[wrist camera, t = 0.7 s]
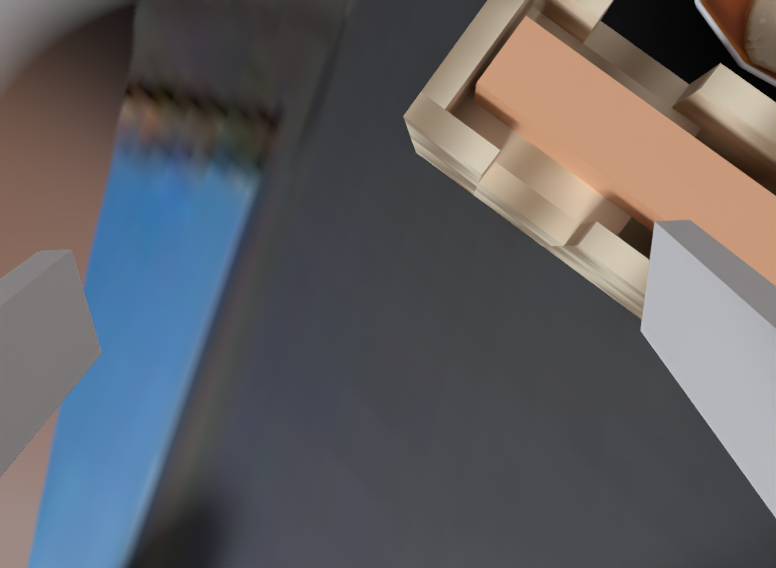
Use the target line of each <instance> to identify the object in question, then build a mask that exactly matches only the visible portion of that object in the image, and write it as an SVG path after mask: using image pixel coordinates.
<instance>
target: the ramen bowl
mask: <svg viewBox="0 0 776 568" xmlns="http://www.w3.org/2000/svg"><path fill="white" fill-rule="evenodd" d="M695 4H696V8H697V9H698V11H699V12H700V13H701V15H702V16H703V18H704V19H705V20H706V22H707V23H708V24H709V26H710V27H711V29H712V30H713V31H714V33H715V34H716V35H717V37H718V38H719V40H720V41H721V42H722V44H723V45H724V46H725V48H726V49H727V51H728V52H729V53H730V55H731V56H732V57H733V59H734V60H735V62H736V63H737V64H738V66H739V67H741V68H743V69H744V70H746V71H748V72H750V73H752V74H753V75H755V76H757V77H759V78H761V79H762V80H764V81H766V82H768V83H769V84H771V85H773V86H775V87H776V0H695Z"/></svg>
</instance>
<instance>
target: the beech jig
mask: <svg viewBox="0 0 776 568" xmlns="http://www.w3.org/2000/svg"><path fill="white" fill-rule="evenodd" d="M613 1H614V0H487V2H486V3H485V5H484V6H483V7H482V9H481V10H480V11H479V13H478V14H477V16H476V17H475V18H474V20H473V21H472V22H471V24H470V25H469V27H468V28H467V29H466V31H465V32H464V33H463V35H462V36H461V38H460V39H459V40H458V42H457V43H456V44H455V46H454V47H453V49H452V50H451V51H450V53H449V54H448V56H447V57H446V58H445V60H444V61H443V62H442V64H441V65H440V67H439V68H438V69H437V71H436V72H435V73H434V75H433V76H432V78H431V79H430V80H429V82H428V83H427V84H426V86H425V87H424V89H423V90H422V91H421V93H420V94H419V95H418V97H417V98H416V100H415V101H414V102H413V104H412V105H411V106H410V108H409V109H408V111H407V112H406V113H405V115H404V116H403V117H404V119H405V122H406V125H407V128H408V131H409V134H410V137H411V139H412V142H413V145H414V148H415V151H416V153H418V154H419V155H420V156H422V157H423V158H424V159H426V160H427V161H429V162H430V163H431V164H433V165H434V166H435V167H437V168H438V169H439V170H441V171H442V172H443V173H445V174H446V175H447V176H449V177H450V178H451V179H453V180H454V181H455V182H457V183H458V184H460V185H461V186H462V187H464V188H465V189H466V190H468V191H469V192H470V193H472V194H473V195H474V196H476V197H477V198H478V199H480V200H481V201H482V202H484V203H485V204H487V205H488V206H489V207H491V208H492V209H493V210H495V211H496V212H497V213H499V214H500V215H501V216H503V217H504V218H505V219H507V220H508V221H509V222H511V223H512V224H513V225H515V226H516V227H518V228H519V229H520V230H522V231H523V232H524V233H526V234H527V235H528V236H530V237H531V238H532V239H534V240H535V241H536V242H538V243H539V244H540V245H542V246H543V247H544V248H546V249H547V250H549V251H550V252H551V253H553V254H554V255H555V256H557V257H558V258H559V259H561V260H562V261H563V262H565V263H566V264H567V265H569V266H570V267H571V268H573V269H574V270H576V271H577V272H578V273H580V274H581V275H582V276H584V277H585V278H586V279H588V280H589V281H590V282H592V283H593V284H594V285H596V286H597V287H598V288H600V289H601V290H602V291H604V292H605V293H607V294H608V295H609V296H611V297H612V298H613V299H615V300H616V301H617V302H619V303H620V304H621V305H623V306H624V307H625V308H627V309H628V310H629V311H631V312H632V313H633V314H635V315H636V316H638V317H639V318H640V319H642V315H643V307H644V300H645V292H646V284H647V276H648V269H649V261H650V253H651V245H652V238H653V232H652V231H650V230H649V229H648V228H646V227H645V226H644V225H642V224H641V223H639V222H638V221H637V220H635V219H634V218H633V217H631V216H630V215H629V214H627V213H626V212H624V211H623V210H622V209H620V208H619V207H618V206H616V205H615V204H614V203H612V202H611V201H609V200H608V199H607V198H605V197H604V196H603V195H601V194H600V193H599V192H597V191H596V190H594V189H593V188H592V187H590V186H589V185H588V184H586V183H585V182H584V181H582V180H581V179H579V178H578V177H577V176H575V175H574V174H573V173H571V172H570V171H569V170H567V169H566V168H564V167H563V166H562V165H560V164H559V163H558V162H556V161H555V160H554V159H552V158H551V157H549V156H548V155H547V154H545V153H544V152H543V151H541V150H540V149H539V148H537V147H536V146H534V145H533V144H532V143H530V142H529V141H528V140H526V139H525V138H524V137H522V136H521V135H519V134H518V133H517V132H515V131H514V130H513V129H511V128H510V127H509V126H507V125H506V124H504V123H503V122H502V121H500V120H499V119H498V118H496V117H495V116H494V115H492V114H491V113H489V112H488V111H487V110H485V109H484V108H483V107H481V106H480V105H479V104H477V103H476V102H474V96H475V90H476V84H477V81H478V80H479V79H480V77H481V76H482V75H483V73H484V72H485V71H486V69H487V68H488V66H489V65H490V64H491V62H492V61H493V60H494V58H495V57H496V56H497V54H498V53H499V51H500V50H501V49H502V47H503V46H504V45H505V43H506V42H507V41H508V39H509V38H510V37H511V35H512V34H513V32H514V31H515V30H516V28H517V27H518V26H519V24H520V23H521V22H522V20H523V19H524V17H525V16H527V17H529V18H530V19H531V20H533V21H534V22H536V23H537V24H538V25H540V26H541V27H543V28H544V29H545V30H547V31H548V32H549V33H551V34H552V35H554V36H555V37H556V38H558V39H559V40H561V41H562V42H563V43H565V44H566V45H567V46H569V47H570V48H572V49H573V50H574V51H576V52H577V53H579V54H580V55H581V56H583V57H584V58H585V59H587V60H588V61H590V62H591V63H592V64H594V65H595V66H597V67H598V68H599V69H601V70H602V71H603V72H605V73H606V74H608V75H609V76H610V77H612V78H613V79H615V80H616V81H617V82H619V83H620V84H621V85H623V86H624V87H626V88H627V89H628V90H630V91H631V92H633V93H634V94H635V95H637V96H638V97H639V98H641V99H642V100H644V101H645V102H646V103H648V104H649V105H651V106H652V107H653V108H655V109H656V110H657V111H659V112H660V113H662V114H663V115H664V116H666V117H667V118H669V119H670V120H671V121H673V122H674V123H675V124H677V125H678V126H680V127H681V128H682V129H684V130H685V131H687V132H688V133H689V134H691V135H692V136H693V137H695V138H696V139H698V140H699V141H700V142H702V143H703V144H705V145H706V146H707V147H709V148H710V149H711V150H713V151H714V152H716V153H717V154H718V155H720V156H721V157H723V158H724V159H725V160H727V161H728V162H729V163H731V164H732V165H734V166H735V167H736V168H738V169H739V170H741V171H742V172H743V173H745V174H746V175H747V176H749V177H750V178H752V179H753V180H754V181H756V182H757V183H758V184H760V185H761V186H763V187H764V188H765V189H767V190H768V191H770V192H771V193H772V194H774V195H775V196H776V102H774V101H773V100H772V99H770V98H769V97H767V96H766V95H765V94H763V93H762V92H760V91H759V90H758V89H756V88H755V87H753V86H752V85H751V84H749V83H748V82H746V81H745V80H744V79H742V78H741V77H739V76H738V75H737V74H735V73H734V72H732V71H731V70H730V69H728V68H727V67H725V66H724V65H723V64H721V63H720V64H719V65H717V66H716V67H714V68H713V69H711V70H710V71H708V72H707V73H705V74H704V75H703V76H701V77H700V78H698V79H697V80H695V81H694V82H692V83H691V84H688V83H686V82H685V81H684V80H682V79H681V78H679V77H678V76H677V75H675V74H674V73H672V72H671V71H670V70H668V69H667V68H666V67H664V66H663V65H661V64H660V63H659V62H657V61H656V60H654V59H653V58H652V57H650V56H649V55H647V54H646V53H645V52H643V51H642V50H640V49H639V48H638V47H636V46H635V45H633V44H632V43H631V42H629V41H628V40H627V39H625V38H624V37H622V36H621V35H620V34H618V33H617V32H615V31H614V30H613V29H611V28H610V27H608V26H607V25H606V24H604V23H603V22H601V21H600V20H601V19H602V17H603V16H604V14H605V13H606V11H607V10H608V8H609V7H610V5H611V4H612V2H613Z"/></svg>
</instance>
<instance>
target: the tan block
mask: <svg viewBox="0 0 776 568" xmlns="http://www.w3.org/2000/svg"><path fill="white" fill-rule="evenodd" d="M474 102H476V103H477V104H479V105H480V106H481V107H483V108H484V109H485V110H487V111H488V112H489V113H491V114H492V115H494V116H495V117H496V118H498V119H499V120H500V121H502V122H503V123H504V124H506V125H507V126H509V127H510V128H511V129H513V130H514V131H515V132H517V133H518V134H519V135H521V136H522V137H524V138H525V139H526V140H528V141H529V142H530V143H532V144H533V145H534V146H536V147H537V148H539V149H540V150H541V151H543V152H544V153H545V154H547V155H548V156H549V157H551V158H552V159H554V160H555V161H556V162H558V163H559V164H560V165H562V166H563V167H564V168H566V169H567V170H569V171H570V172H571V173H573V174H574V175H575V176H577V177H578V178H579V179H581V180H582V181H584V182H585V183H586V184H588V185H589V186H590V187H592V188H593V189H594V190H596V191H597V192H599V193H600V194H601V195H603V196H604V197H605V198H607V199H608V200H609V201H611V202H612V203H614V204H615V205H616V206H618V207H619V208H620V209H622V210H623V211H624V212H626V213H627V214H629V215H630V216H631V217H633V218H634V219H635V220H637V221H638V222H639V223H641V224H642V225H644V226H645V227H646V228H648V229H649V230H650V231H652V232H653V230H654V222H655V221H672V220H691V221H692V222H694V223H695V224H696V225H697V226H699V227H700V228H701V229H703V230H704V231H705V232H706V233H708V234H709V235H710V236H712V237H713V238H714V239H715V240H717V241H718V242H719V243H721V244H722V245H723V246H725V247H726V248H727V249H728V250H730V251H731V252H732V253H734V254H735V255H736V256H737V257H739V258H740V259H741V260H743V261H744V262H745V263H746V264H748V265H749V266H750V267H752V268H753V269H754V270H756V271H757V272H758V273H759V274H761V275H762V276H763V277H765V278H766V279H767V280H768V281H770V282H771V283H772V284H774V285H775V286H776V196H775V195H774V194H772V193H771V192H770V191H768V190H767V189H765V188H764V187H763V186H761V185H760V184H758V183H757V182H756V181H754V180H753V179H752V178H750V177H749V176H747V175H746V174H745V173H743V172H742V171H741V170H739V169H738V168H736V167H735V166H734V165H732V164H731V163H729V162H728V161H727V160H725V159H724V158H723V157H721V156H720V155H718V154H717V153H716V152H714V151H713V150H711V149H710V148H709V147H707V146H706V145H705V144H703V143H702V142H700V141H699V140H698V139H696V138H695V137H693V136H692V135H691V134H689V133H688V132H687V131H685V130H684V129H682V128H681V127H680V126H678V125H677V124H675V123H674V122H673V121H671V120H670V119H669V118H667V117H666V116H664V115H663V114H662V113H660V112H659V111H657V110H656V109H655V108H653V107H652V106H651V105H649V104H648V103H646V102H645V101H644V100H642V99H641V98H639V97H638V96H637V95H635V94H634V93H633V92H631V91H630V90H628V89H627V88H626V87H624V86H623V85H621V84H620V83H619V82H617V81H616V80H615V79H613V78H612V77H610V76H609V75H608V74H606V73H605V72H603V71H602V70H601V69H599V68H598V67H597V66H595V65H594V64H592V63H591V62H590V61H588V60H587V59H585V58H584V57H583V56H581V55H580V54H579V53H577V52H576V51H574V50H573V49H572V48H570V47H569V46H567V45H566V44H565V43H563V42H562V41H561V40H559V39H558V38H556V37H555V36H554V35H552V34H551V33H549V32H548V31H547V30H545V29H544V28H543V27H541V26H540V25H538V24H537V23H536V22H534V21H533V20H531V19H530V18H529V17H527V16H525V17H524V19H523V20H522V22H521V23H520V24H519V26H518V27H517V28H516V30H515V31H514V32H513V34H512V35H511V37H510V38H509V39H508V41H507V42H506V43H505V45H504V46H503V47H502V49H501V50H500V51H499V53H498V54H497V56H496V57H495V58H494V60H493V61H492V62H491V64H490V65H489V66H488V68H487V69H486V71H485V72H484V73H483V75H482V76H481V77H480V79H479V80H478V81H477V84H476V90H475V96H474Z"/></svg>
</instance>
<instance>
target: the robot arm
mask: <svg viewBox="0 0 776 568" xmlns="http://www.w3.org/2000/svg"><path fill="white" fill-rule="evenodd" d="M640 331H641V332H642V333H643V335H644V336H645V337H646V339H647V340H648V342H649V343H650V344H651V346H652V347H653V349H654V350H655V351H656V353H657V354H658V355H659V357H660V358H661V360H662V361H663V362H664V364H665V365H666V367H667V368H668V369H669V371H670V372H671V373H672V375H673V376H674V378H675V379H676V380H677V382H678V383H679V385H680V386H681V387H682V389H683V390H684V391H685V393H686V394H687V396H688V397H689V398H690V400H691V401H692V403H693V404H694V405H695V407H696V408H697V409H698V411H699V412H700V414H701V415H702V416H703V418H704V419H705V421H706V422H707V423H708V425H709V426H710V427H711V429H712V430H713V432H714V433H715V434H716V436H717V437H718V439H719V440H720V441H721V443H722V444H723V445H724V447H725V448H726V450H727V451H728V452H729V454H730V455H731V457H732V458H733V459H734V461H735V462H736V463H737V465H738V466H739V468H740V469H741V470H742V472H743V473H744V475H745V476H746V477H747V479H748V480H749V482H750V483H751V484H752V486H753V487H754V488H755V490H756V491H757V493H758V494H759V495H760V497H761V498H762V500H763V501H764V502H765V504H766V505H767V506H768V508H769V509H770V511H771V512H772V513H773V515H774V516H775V518H776V286H775V285H774V284H772V283H771V282H770V281H768V280H767V279H766V278H765V277H763V276H762V275H761V274H759V273H758V272H757V271H756V270H754V269H753V268H752V267H750V266H749V265H748V264H746V263H745V262H744V261H743V260H741V259H740V258H739V257H737V256H736V255H735V254H734V253H732V252H731V251H730V250H728V249H727V248H726V247H725V246H723V245H722V244H721V243H719V242H718V241H717V240H715V239H714V238H713V237H712V236H710V235H709V234H708V233H706V232H705V231H704V230H703V229H701V228H700V227H699V226H697V225H696V224H695V223H694V222H692V221H691V220H672V221H655V222H654V230H653V238H652V245H651V253H650V261H649V269H648V276H647V284H646V292H645V300H644V307H643V315H642V323H641V330H640ZM101 354H102V352H101V349H100V345H99V342H98V338H97V335H96V331H95V328H94V325H93V321H92V318H91V314H90V311H89V307H88V304H87V300H86V297H85V293H84V290H83V286H82V283H81V279H80V276H79V272H78V269H77V265H76V262H75V258H74V255H73V251H72V249H69V250H49V251H38V252H37V253H35V254H34V255H33V256H32V257H30V258H29V259H27V260H26V261H25V262H23V263H22V264H20V265H19V266H17V267H16V268H15V269H13V270H12V271H11V272H10V273H8V274H7V275H5V276H4V277H2V278H1V279H0V477H1V476H2V475H3V473H4V472H5V471H6V470H7V468H8V467H9V466H10V465H11V463H12V462H13V461H14V460H15V459H16V457H17V456H18V455H19V454H20V453H21V451H22V450H23V449H24V448H25V446H26V445H27V444H28V443H29V441H30V440H31V439H32V438H33V436H34V435H35V434H36V433H37V432H38V430H39V429H40V428H41V427H42V426H43V424H44V423H45V422H46V420H48V418H49V417H50V416H51V415H52V413H53V412H54V411H55V410H56V409H57V407H58V406H59V405H60V404H61V402H62V401H63V400H64V399H65V398H66V396H67V395H68V394H69V393H70V391H71V390H72V389H73V388H74V387H75V385H76V384H77V383H78V382H79V380H80V379H81V378H82V377H83V376H84V374H85V373H86V372H87V371H88V369H89V368H90V367H91V366H92V365H93V363H94V362H95V361H96V360H97V358H98V357H99V356H100V355H101Z"/></svg>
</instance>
